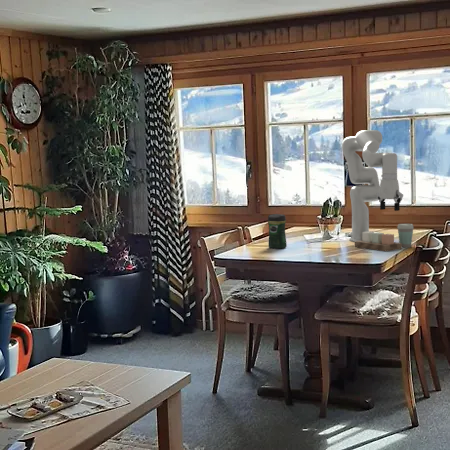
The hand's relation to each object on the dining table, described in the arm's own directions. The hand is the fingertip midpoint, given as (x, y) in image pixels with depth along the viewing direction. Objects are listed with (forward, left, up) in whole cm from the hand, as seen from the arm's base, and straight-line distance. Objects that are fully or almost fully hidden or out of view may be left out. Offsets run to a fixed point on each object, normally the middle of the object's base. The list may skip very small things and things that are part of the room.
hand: (389, 210), depth 348 cm
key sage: (-8, -1, -18) cm, 19 cm away
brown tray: (-8, -1, -21) cm, 22 cm away
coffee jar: (-46, -39, -21) cm, 63 cm away
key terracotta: (-1, -1, -18) cm, 18 cm away
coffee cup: (0, +12, -21) cm, 24 cm away
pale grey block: (-15, -1, -18) cm, 23 cm away
